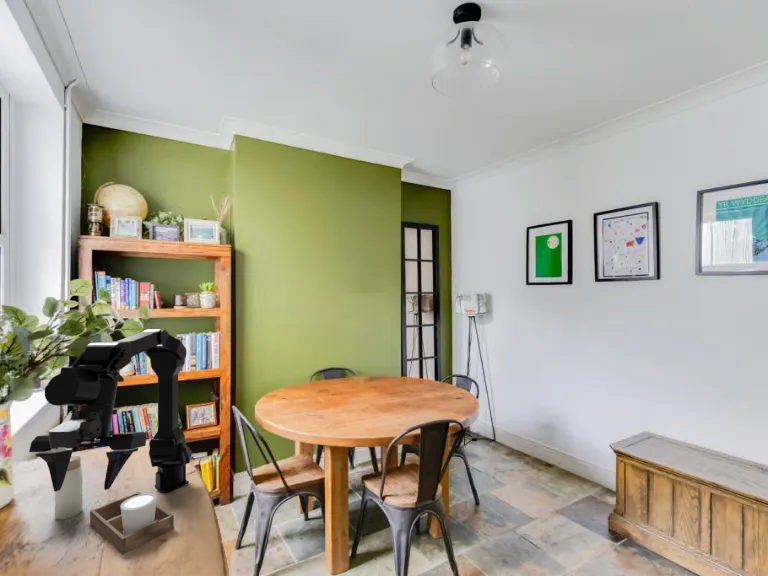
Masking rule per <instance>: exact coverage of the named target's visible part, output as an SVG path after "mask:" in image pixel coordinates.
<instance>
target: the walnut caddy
mask: <svg viewBox="0 0 768 576" xmlns="http://www.w3.org/2000/svg"><path fill="white" fill-rule="evenodd" d="M140 494H142V493H141V492H139V491H137V492H135V493H131V494H129V495H125V496H124V497H122V498H119V499H116V500H114V501H110V502H108V503H106V504H104V505H101V506H99V507H95V508H92V509H90V511H89V525H91V526H92V527H93V528H94V529H95V530H96V531H97V532H98V533H100V534H101V535H102V536H103V537H104V538H105V539H106V540H107V541H108V542H109V543H111V545H113V546H114V548H115V549H117V551H118V552H120V553H121V554H122V555H123V554H125V553H127V552H129V551H132V550H134V549H135V548H138V547H139V546H142V545H144V544H145V543H148V542H150V541H152V540H154V539H156V538H159V537H160V536H162V535H164V534H166V533H168V532H171V531H172V530H174V528H175V527H174V526H175V524H174V523H175V522H174V521H175V520H174V519H175V518H174V514H172V513H171V512H169V511H168V510H166V509H165V508H163V507H161V506H160V505H159V504H158V503H156V510H155V520H157V521H156V522H155V521H154V523H153V524H151V525H149V526H147V527H144V528H142V529H140V530H138V531H136V532H134V533H131V534H129V535H127V536H125V537H124V534H122V533H121V532H120V531H121V530H123V524H122V515H121V514H120V515H117V514H119V513H121V504H122V503H123V502H124V501H126V500H127V499H129V498H131V497H133V496H137V495H140ZM115 515H117V516H115ZM113 516H114V517H113ZM110 517H111V518H110ZM107 518H109V519H107Z"/></svg>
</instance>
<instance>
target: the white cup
mask: <svg viewBox="0 0 768 576" xmlns="http://www.w3.org/2000/svg"><path fill="white" fill-rule="evenodd" d="M157 499H158V498H157V494H153V493H141V494H140V495H137V496H133V497H131V498H129V499H127V500H126V501H124V502H123V503H122V504H121V512H120V513H121V514H120V515H122V524H123V529H122V533H123V536H124V537H125V536H127V535H129V534H131V533H134V532H136V531H138V530H140V529H142V528H144V527H147V526H149V525H151V524H153V523H155V520H156V519H155V510H156V504H157Z"/></svg>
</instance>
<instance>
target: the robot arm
mask: <svg viewBox="0 0 768 576" xmlns="http://www.w3.org/2000/svg"><path fill="white" fill-rule="evenodd" d="M187 351H188V350H187V348H186V346H185V345H184V344H183V342H182V341H181V340H180V339H178V338H176V337H175V336H173V335H171V334H169V332H168V331H167V330H166V329H163V328H154V329H153V328H147V329H145V330H143V331H142V332H139V333H136V334H133V335H131V336H128V337H125V338H123V339H122V338H121V339H120V340H116V341H115V340H114V341H101V342H99V341H98V342H90V343H89V344H86V346H85V347H84V350H82V351H81V353H80V354H79V355H78V357H77V358H76V360H74V361H73V363H72V364H71V366H62V367H61V369H60V372H59V374H56V375H54V376H53V377H51V379H50V380H49V381H48V383H47V385H46V386H45V388H44V397H45V399H46V401H47V402H48V403H49V404H51V405H52V406H63V407H64V406H78V410H72V411H73V412H72V413H71V416H70V420H66V421H65V422H63V423H61V424H59V425H57V426H54V427H53V428H51V429H50V430H48V434H43V435H36V437H34V439H33V440H32V441H31V442H30V445H29V451H28V452H29V453H35V457H36V458H40V459H42V460H43V461H45V463H46V465H47V468H48V471H49V475H50V479H51V483H52V488H53V491H54V492H55V491H59V490H60V489H61V487H62V484H63V482H64V479H65V475H66V472H67V469H68V465H69V462H70V459H71V456H73V451H74V450H73V449H74V448H79V447H80V448H81V447H82V448H85V447H86V448H89V447H109V448H110V450H111V451H105V454H106V457H107V461H108V462H107V467H106V473H105V478H104V482H103V484H104V485H103V486H104V488H103V490H104V491H107V490H109V489H110V488H111V487H112V485H113V483H114V482H115V480H116V478H117V477H118V475H119V473H120V472H121V470H122V469H123V467H124V465H125V464H126V463H127V462H128V461H129V458H130V457H131V456H132V455H133V453H135V452H138V451H139V448H142V447H146V444H147V436H146V433H145V432H144V431H129V432H120V433H115V430H114V429H111V426H112V422H113V421H112V420H113V416H114V415H117V414H118V409H115V404H116V396H117V391H118V390H117V389H118V384H119V383H123V382H124V381H125V379H124V377H123V376H122V375H121V374H120V373H119V371H120V370H122V369H123V368H125V367H126V366H128V365H129V364H130V363H132V358H133V357H135V356H137V355H139V354H141V353H144V354H145V355H146V356H147V357H148V359H149V360H150V361H149V362H150V368H151V370H152V371H153V373H154V374H155V375H156V376H157V431H156V433H155V434H154V436H153V437H152V438H151V439H149V442H148V444H149V451H148V456H149V461H150V464H151V468H155V467H157V471H156V472H155V484H154V488H156V489H158V490H160V492H162V493H165V494H167V493H169V492H172V491H175V490H177V489H179V488H182V487H185V486H186V484H187V485H188V484H190V481H189V480H187V464H190V463H191V459H192V453H193V451H192V450H191V449H190V447H189V446H188V445H187V443H186V437H185V434H184V432H183V430H181V428H180V426H179V374H180V372H181V370H182V369H183V367H184V366H185V362H186V358H187Z"/></svg>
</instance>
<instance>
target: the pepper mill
mask: <svg viewBox="0 0 768 576" xmlns="http://www.w3.org/2000/svg"><path fill="white" fill-rule="evenodd" d="M81 459H82V458H81V456H80V455H71V459H70V462H69V465H68V469H67V472H66V475H65V479H64V482H63V484H62V487H61V489H60V490H59V491H54V518H55V519H56V520H66V519H70V518H73V517H75V516H77V515H79V514H81V513H82V511H83V502H84V501H83V498H84V497H83V495H84V494H83V491H84V489H83V485H84V480H83V479H84V478H83V477H84V475H83V473H84V471H83V469H84V468H83V465H84V464H83V463H81V462H82V461H81Z"/></svg>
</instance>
